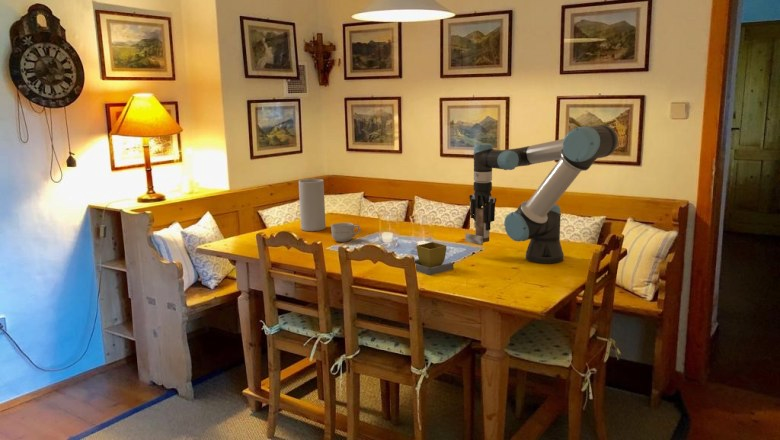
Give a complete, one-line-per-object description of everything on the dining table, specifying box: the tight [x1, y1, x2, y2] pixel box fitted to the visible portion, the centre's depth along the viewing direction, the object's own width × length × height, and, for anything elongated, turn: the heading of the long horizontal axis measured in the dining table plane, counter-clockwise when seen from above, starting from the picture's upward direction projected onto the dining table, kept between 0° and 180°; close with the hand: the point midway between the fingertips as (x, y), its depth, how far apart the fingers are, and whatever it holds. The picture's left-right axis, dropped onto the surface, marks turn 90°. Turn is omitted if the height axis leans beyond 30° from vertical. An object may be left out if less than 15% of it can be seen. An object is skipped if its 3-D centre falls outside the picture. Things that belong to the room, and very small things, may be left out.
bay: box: [414, 258, 454, 276], centre depth 253 cm, size 14×12×2 cm
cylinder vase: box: [298, 178, 327, 232], centre depth 327 cm, size 12×12×25 cm
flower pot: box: [416, 241, 447, 268], centre depth 254 cm, size 9×9×9 cm
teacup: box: [330, 222, 362, 243], centre depth 302 cm, size 14×11×8 cm
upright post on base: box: [464, 206, 490, 246], centre depth 267 cm, size 9×8×14 cm
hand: (482, 236), depth 269 cm, fingers closed on upright post on base, 4 cm apart
